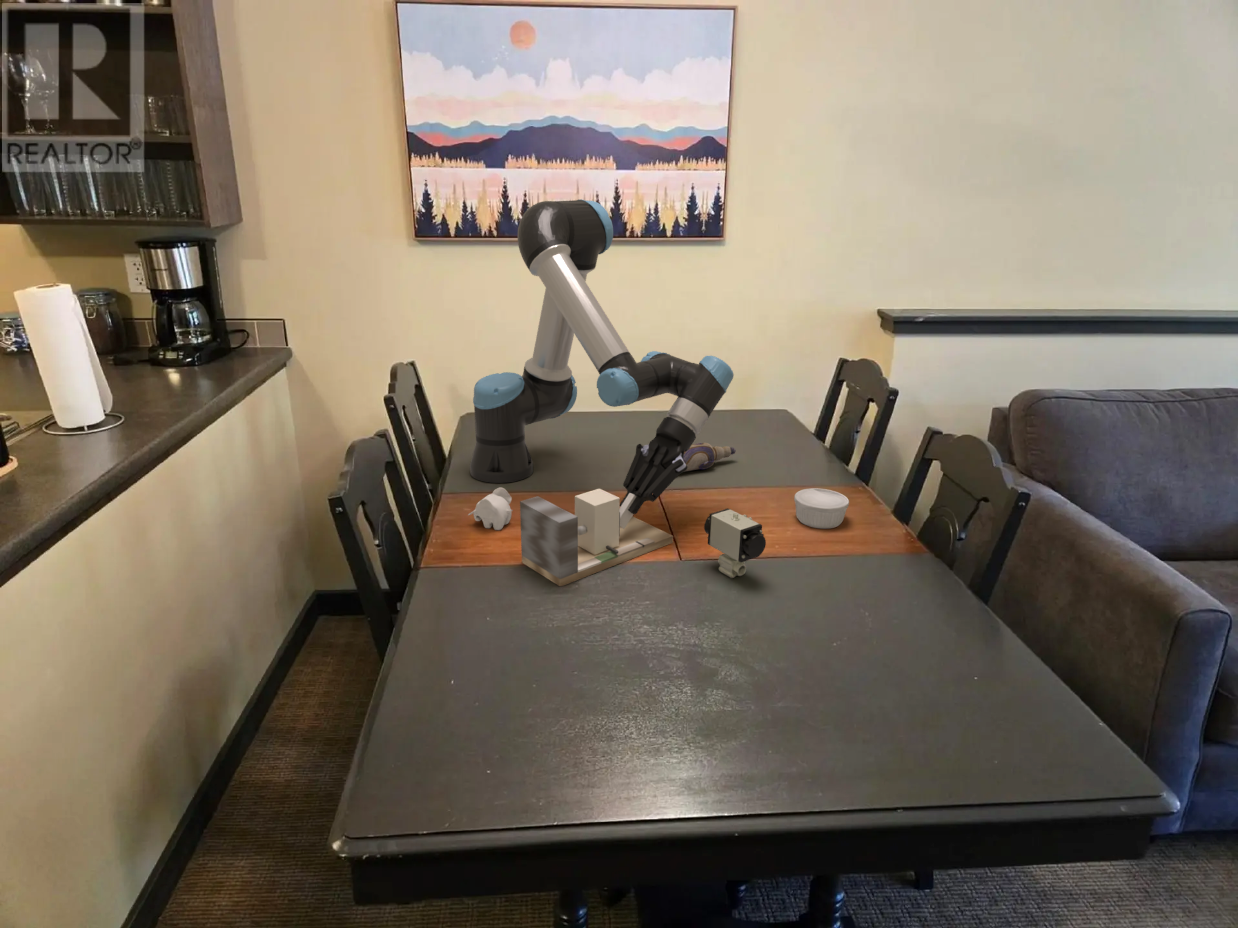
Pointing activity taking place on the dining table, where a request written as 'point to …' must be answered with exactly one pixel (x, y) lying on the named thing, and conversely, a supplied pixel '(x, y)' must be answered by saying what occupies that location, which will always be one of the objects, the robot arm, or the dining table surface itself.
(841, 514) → the ramekin
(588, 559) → the board
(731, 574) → the pneumatic valve
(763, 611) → the dining table surface
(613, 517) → the block
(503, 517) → the elephant figurine
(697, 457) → the decorative bottle
